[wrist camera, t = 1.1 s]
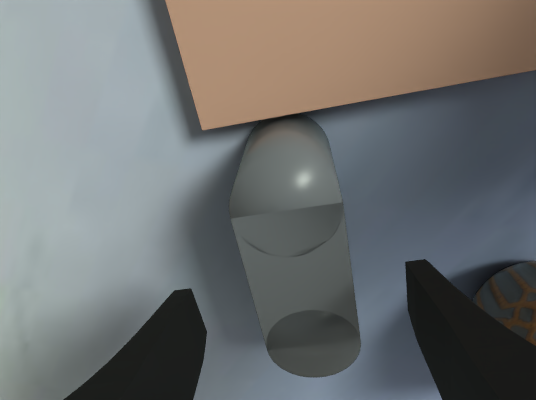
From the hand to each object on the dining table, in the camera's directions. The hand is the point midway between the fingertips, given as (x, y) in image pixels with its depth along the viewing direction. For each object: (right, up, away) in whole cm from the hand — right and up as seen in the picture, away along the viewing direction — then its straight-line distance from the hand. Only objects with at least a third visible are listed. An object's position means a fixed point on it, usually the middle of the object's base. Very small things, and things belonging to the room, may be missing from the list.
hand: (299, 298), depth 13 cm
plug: (0, +3, +5) cm, 6 cm away
